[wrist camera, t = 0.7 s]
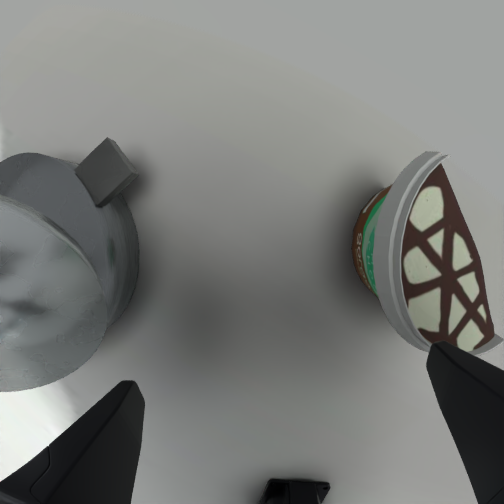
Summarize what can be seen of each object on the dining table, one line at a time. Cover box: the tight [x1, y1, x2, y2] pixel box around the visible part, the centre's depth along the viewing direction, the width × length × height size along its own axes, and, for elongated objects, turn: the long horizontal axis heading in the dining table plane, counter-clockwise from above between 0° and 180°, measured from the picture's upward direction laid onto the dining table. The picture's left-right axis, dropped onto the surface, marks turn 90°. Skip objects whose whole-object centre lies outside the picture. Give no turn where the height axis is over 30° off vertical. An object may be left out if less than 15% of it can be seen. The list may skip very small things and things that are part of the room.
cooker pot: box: [0, 138, 139, 329], centre depth 21 cm, size 15×21×6 cm
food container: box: [351, 152, 504, 356], centre depth 18 cm, size 12×6×10 cm, turn 28°
